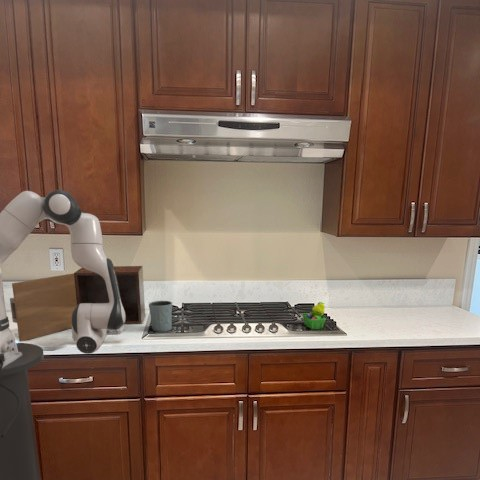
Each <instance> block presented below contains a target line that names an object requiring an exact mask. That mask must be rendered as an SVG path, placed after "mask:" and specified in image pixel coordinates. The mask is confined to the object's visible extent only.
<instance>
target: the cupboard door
mask: <svg viewBox="0 0 480 480" xmlns="http://www.w3.org/2000/svg"><path fill="white" fill-rule="evenodd" d="M11 288H12V294H13V297H9V304H10V311H11V319H12V323H14V324H16V325H17V332H18V333H17V334H18V342H19V343H22V342H25V341H29V340H33V339H36V338H40V337H43V336H47V335H51V334H55V333H58V332H61V331H66V330H69V329H72V314H73V311H74V309H75V308H76V306H77V299H76V289H75V278H74V273H68V274H62V275H54V276H49V277H42V278H37V279H29V280H24V281H18V282H12V283H11Z"/></svg>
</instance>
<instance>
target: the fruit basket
mask: <svg viewBox="0 0 480 480" xmlns="http://www.w3.org/2000/svg"><path fill="white" fill-rule="evenodd" d="M325 308H326V306H325V302H322V301H319V302H317V304H315V305H314V306H313V307H312V308H311V310H312V312H311V311H310V312H305V313H301V316H302V319H303V320H302V321H303V324H304V326H306V328H308V329H310V330H313V331H314V330H322V329H323V328H324V325H325V322H326V320H327V318H326V317H325V316H323V315H324V313H325Z"/></svg>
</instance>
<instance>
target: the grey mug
mask: <svg viewBox="0 0 480 480" xmlns="http://www.w3.org/2000/svg"><path fill="white" fill-rule="evenodd" d="M148 308H149V314H150V322H151V330H152V332H156V333H157V332H158V333H166V332H170V331H171V330H172V329H173V322H172V320H173V314H172V313H173V302H172V301H170V300H155V301H151V302H149V303H148Z"/></svg>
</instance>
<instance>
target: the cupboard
mask: <svg viewBox="0 0 480 480" xmlns="http://www.w3.org/2000/svg"><path fill="white" fill-rule="evenodd" d="M113 266H114V265H113ZM114 269H115V273H116V277H117V282H118V287H119V292H120V297H121V301H122V305H123V308H124V311H125V316H126V318H125V324H124V325H142V324H143V321H144V318H145V316H146V305H145V304H146V303H145V288H144V287H145V286H144V269H143V265H120V266H119V265H117V266H114ZM73 274H74V278H75V289H76V299H77V305H78V304H80V303H108V302H109V297H108V292H107V287H106V283H105V280H104V278H103V277H102V276H100V275H99V274H97V273H95V272H92V271H89V270H86V269H84V268H82V267H80V268H79V269H78V270H76V271H75V272H74V273H73Z"/></svg>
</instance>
